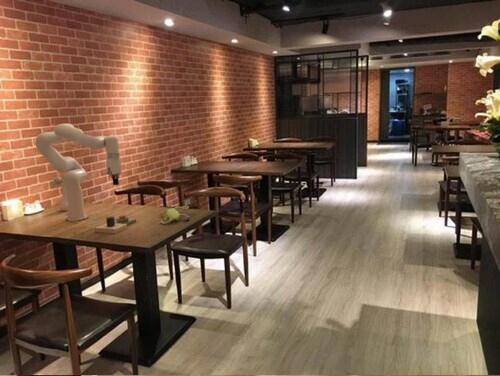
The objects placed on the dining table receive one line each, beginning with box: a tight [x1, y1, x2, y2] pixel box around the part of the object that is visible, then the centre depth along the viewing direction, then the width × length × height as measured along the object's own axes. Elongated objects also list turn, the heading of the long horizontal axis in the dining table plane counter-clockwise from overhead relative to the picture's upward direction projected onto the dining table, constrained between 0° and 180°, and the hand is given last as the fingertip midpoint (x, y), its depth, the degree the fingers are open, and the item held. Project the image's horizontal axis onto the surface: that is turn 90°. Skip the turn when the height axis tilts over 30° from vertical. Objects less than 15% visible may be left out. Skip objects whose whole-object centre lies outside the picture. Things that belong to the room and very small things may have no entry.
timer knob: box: [105, 215, 115, 227], centre depth 245 cm, size 4×4×5 cm
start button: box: [118, 214, 127, 219], centre depth 259 cm, size 4×4×2 cm
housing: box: [114, 216, 137, 227], centre depth 259 cm, size 12×10×4 cm
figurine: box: [160, 205, 191, 225], centre depth 267 cm, size 18×27×6 cm
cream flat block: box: [94, 222, 128, 234], centre depth 246 cm, size 14×11×3 cm
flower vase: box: [49, 175, 69, 212], centre depth 299 cm, size 13×18×25 cm
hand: (116, 184), depth 268 cm, fingers closed
